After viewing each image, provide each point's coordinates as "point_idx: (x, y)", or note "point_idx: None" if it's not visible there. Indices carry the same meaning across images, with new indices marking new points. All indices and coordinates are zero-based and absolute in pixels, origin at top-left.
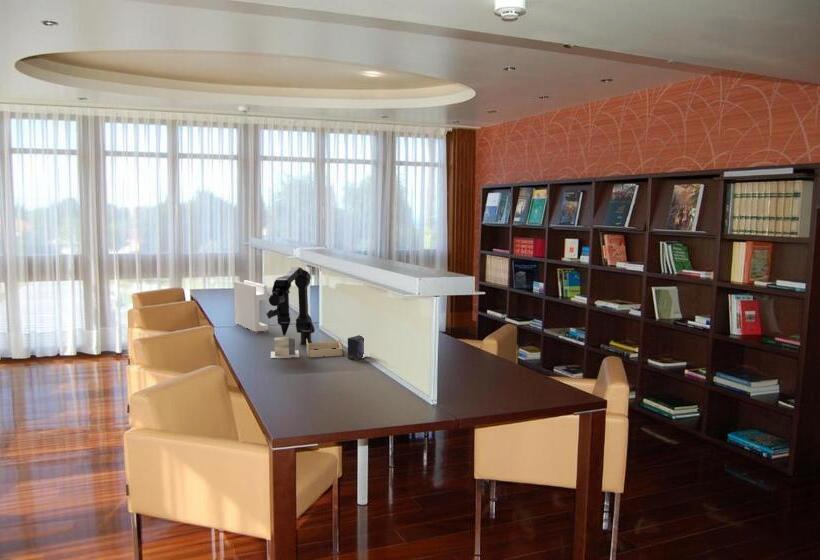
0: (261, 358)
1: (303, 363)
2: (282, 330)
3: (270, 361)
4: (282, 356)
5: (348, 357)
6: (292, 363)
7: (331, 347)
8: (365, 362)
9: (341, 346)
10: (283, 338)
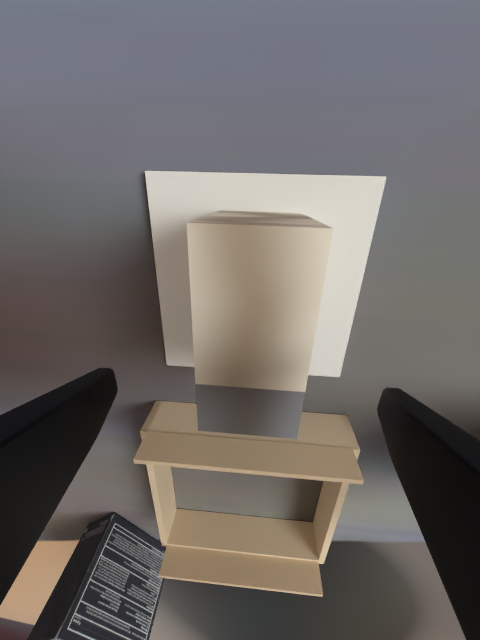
0: (177, 75)
1: (25, 364)
2: (9, 418)
3: (66, 166)
4: (178, 266)
5: (108, 519)
6: (20, 312)
7: (318, 510)
8: (57, 536)
9: (186, 553)
10: (251, 340)
